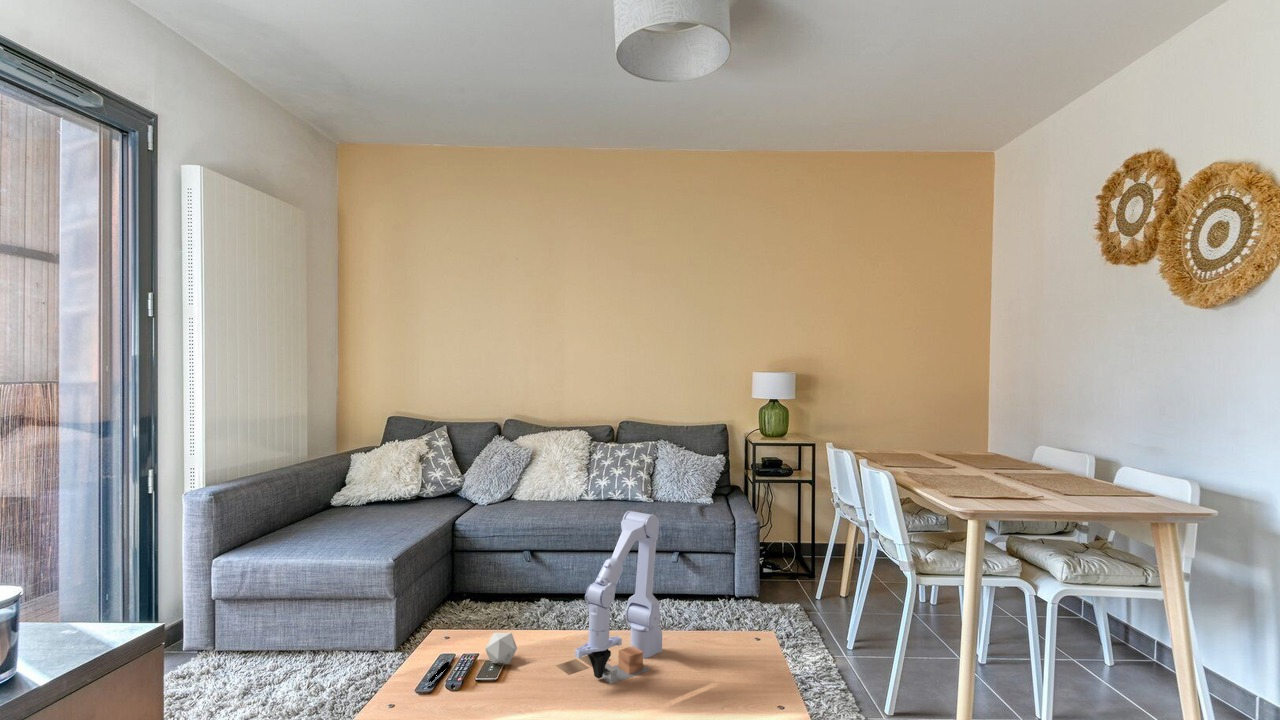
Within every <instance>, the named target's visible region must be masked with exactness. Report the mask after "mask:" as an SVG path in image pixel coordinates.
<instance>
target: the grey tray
mask: <svg viewBox="0 0 1280 720" xmlns="http://www.w3.org/2000/svg"><path fill="white" fill-rule="evenodd" d="M618 667H619V664H616V665H614V666H612V665H611V664H609V663H608V662H607V663H606V665H605V668H604V672H603V676H602V678H601V679H602V680H603V681H604V682H607V683H608V684H609V685H613V684H616V683H619V682H621V681H624V680H627V679H629V678H630V679H631V678H633V677H635V676H637V675H640V674H643V673H646V672H649V671H650V669H649V668H648V667H646V666H644V665H643V669H642V670H640V671H637V672H634V673H631V674H628V673H626V672H625V671H623V670H621V669H620V668H618Z"/></svg>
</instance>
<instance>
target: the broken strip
mask: <svg viewBox="0 0 1280 720" xmlns="http://www.w3.org/2000/svg"><path fill="white" fill-rule="evenodd" d="M580 660H581V661H582V662H584V663H586V664H587V665H588V666H587V665H585V664H584V663H582V662H581V661H580ZM610 661H612V659H611V658H609V659H608V661H607V663H608V662H610ZM589 666H590V667H591V668H593V667H592V664H591V661H590V659H589V657H588V655H585V656H582V658H580V659H579V660H578V658H574V659H572V660H568V661H564V662H562V663H559V664H555V667H557V668H558V669H560V670H561V671H562V672H564V673H565V674H567V675H568V676H569V675H573V674H575V673H579V672H581V671H585V670H587V669H589V668H590V667H589Z"/></svg>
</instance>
